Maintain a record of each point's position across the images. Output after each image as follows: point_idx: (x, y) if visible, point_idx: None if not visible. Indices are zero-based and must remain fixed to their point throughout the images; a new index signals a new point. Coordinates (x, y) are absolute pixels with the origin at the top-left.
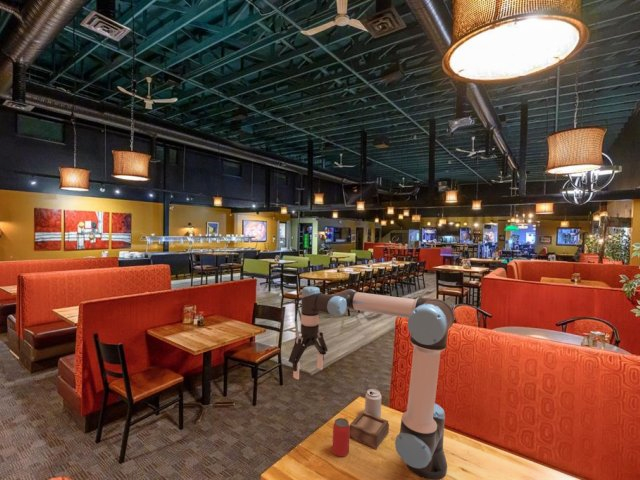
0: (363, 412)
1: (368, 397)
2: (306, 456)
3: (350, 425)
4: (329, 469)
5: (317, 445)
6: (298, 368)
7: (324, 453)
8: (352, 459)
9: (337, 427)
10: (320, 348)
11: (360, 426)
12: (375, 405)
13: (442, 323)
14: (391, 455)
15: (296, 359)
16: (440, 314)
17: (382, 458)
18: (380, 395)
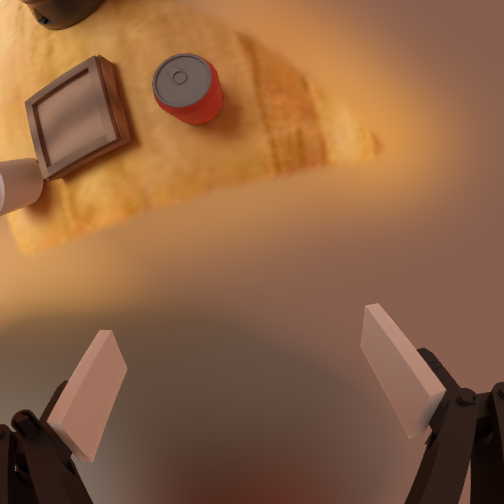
0: (45, 171)
1: (2, 188)
2: (294, 143)
3: (116, 136)
4: (272, 69)
5: (238, 160)
6: (414, 359)
7: (243, 121)
8: None
9: (212, 73)
10: (54, 498)
11: (91, 125)
12: (7, 164)
13: None
14: (102, 32)
15: (471, 427)
16: None
17: (127, 32)
18: None
